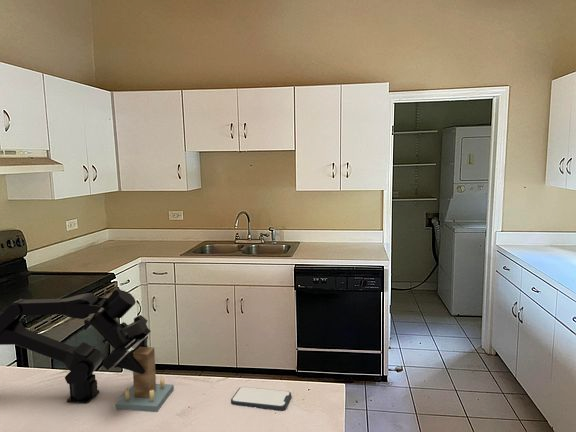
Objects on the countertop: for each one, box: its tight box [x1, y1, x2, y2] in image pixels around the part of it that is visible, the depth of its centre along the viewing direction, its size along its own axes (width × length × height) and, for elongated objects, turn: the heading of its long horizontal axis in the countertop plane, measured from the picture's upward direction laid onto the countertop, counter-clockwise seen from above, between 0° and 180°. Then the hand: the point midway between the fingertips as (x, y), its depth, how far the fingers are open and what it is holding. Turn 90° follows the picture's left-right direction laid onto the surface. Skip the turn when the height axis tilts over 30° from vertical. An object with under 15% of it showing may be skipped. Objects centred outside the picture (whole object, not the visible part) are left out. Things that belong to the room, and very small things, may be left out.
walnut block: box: [132, 346, 157, 398], centre depth 125 cm, size 4×4×13 cm
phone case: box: [230, 386, 292, 412], centre depth 125 cm, size 9×2×16 cm
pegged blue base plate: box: [114, 377, 175, 413], centre depth 126 cm, size 12×12×4 cm
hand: (148, 367), depth 125 cm, fingers open, 6 cm apart
